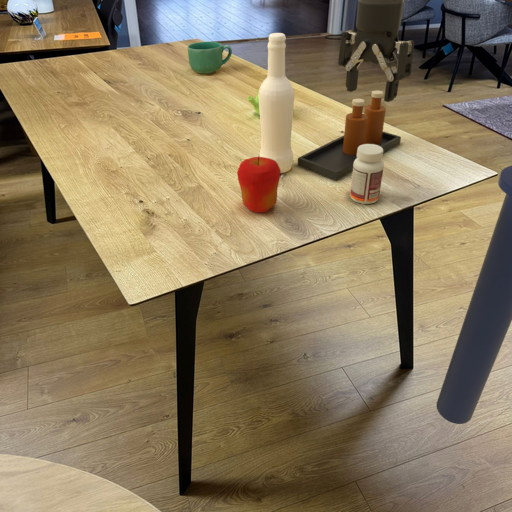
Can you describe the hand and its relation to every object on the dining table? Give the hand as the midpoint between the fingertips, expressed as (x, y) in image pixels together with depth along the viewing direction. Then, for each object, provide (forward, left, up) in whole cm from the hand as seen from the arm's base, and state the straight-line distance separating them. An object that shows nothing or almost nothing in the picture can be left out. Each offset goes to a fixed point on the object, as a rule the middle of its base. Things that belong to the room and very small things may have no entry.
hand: (369, 95), depth 90 cm
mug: (+97, -43, -22) cm, 109 cm away
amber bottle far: (+14, -26, -22) cm, 37 cm away
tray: (+14, -17, -22) cm, 31 cm away
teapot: (+48, -24, -22) cm, 58 cm away
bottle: (+23, +1, -22) cm, 32 cm away
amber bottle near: (+14, -18, -22) cm, 31 cm away
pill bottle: (-1, -1, -22) cm, 22 cm away
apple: (+13, +17, -22) cm, 31 cm away
